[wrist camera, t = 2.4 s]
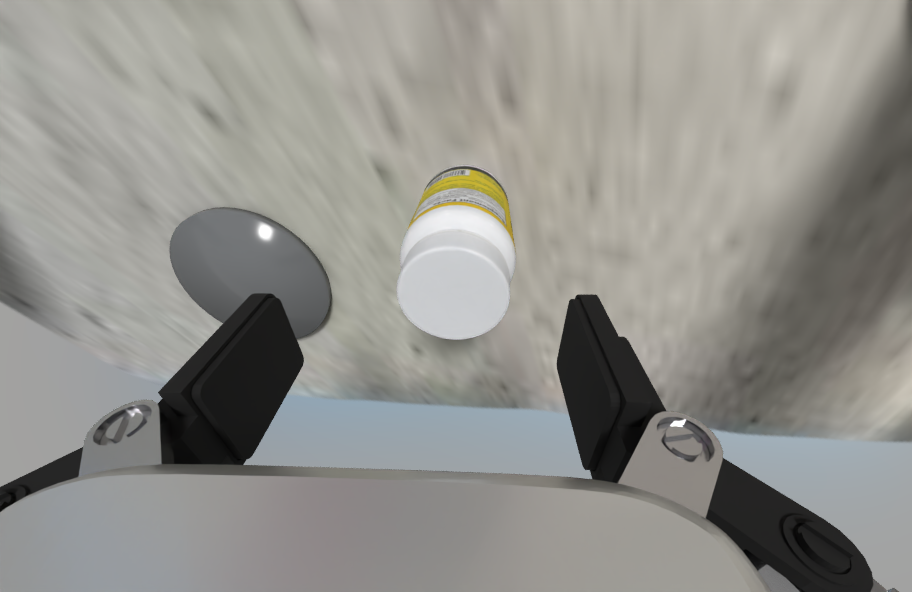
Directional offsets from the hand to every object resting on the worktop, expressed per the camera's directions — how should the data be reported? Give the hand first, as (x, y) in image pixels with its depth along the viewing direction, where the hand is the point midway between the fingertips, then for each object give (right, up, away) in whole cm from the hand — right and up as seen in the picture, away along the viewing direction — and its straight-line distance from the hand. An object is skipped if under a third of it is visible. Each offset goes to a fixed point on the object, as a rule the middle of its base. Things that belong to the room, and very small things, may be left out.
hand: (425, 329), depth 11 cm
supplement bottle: (+2, +6, +7) cm, 10 cm away
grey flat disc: (-12, +2, +11) cm, 17 cm away
